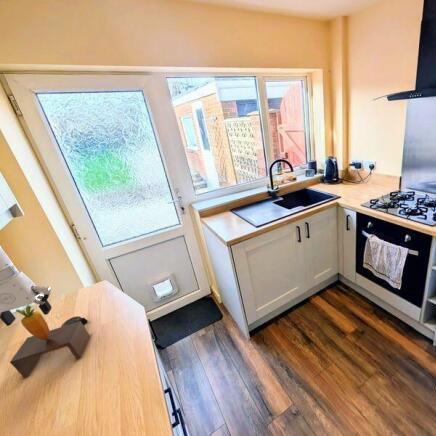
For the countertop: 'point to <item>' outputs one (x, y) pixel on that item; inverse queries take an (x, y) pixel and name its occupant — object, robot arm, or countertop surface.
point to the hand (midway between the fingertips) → (30, 316)
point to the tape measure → (74, 321)
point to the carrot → (35, 323)
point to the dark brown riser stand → (50, 346)
